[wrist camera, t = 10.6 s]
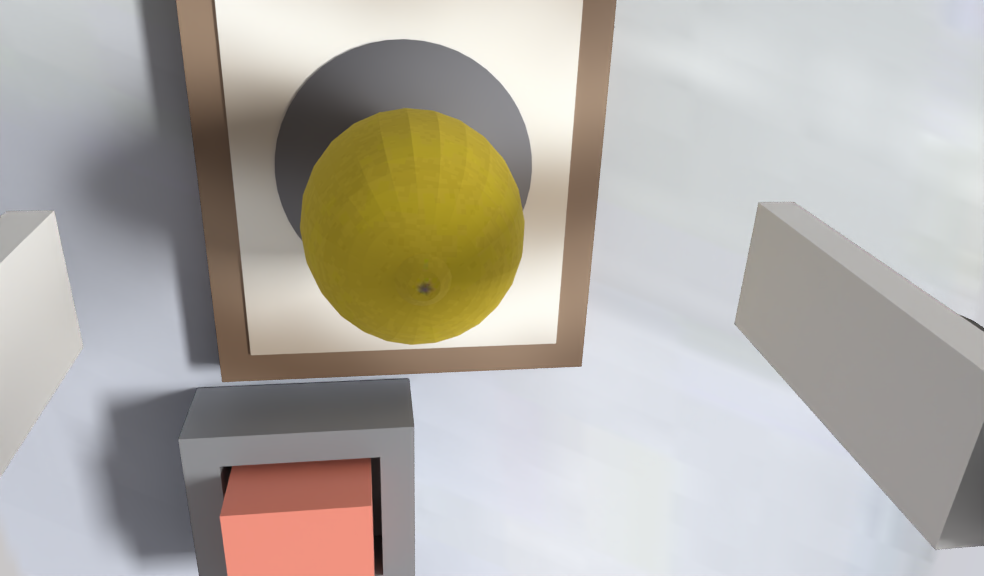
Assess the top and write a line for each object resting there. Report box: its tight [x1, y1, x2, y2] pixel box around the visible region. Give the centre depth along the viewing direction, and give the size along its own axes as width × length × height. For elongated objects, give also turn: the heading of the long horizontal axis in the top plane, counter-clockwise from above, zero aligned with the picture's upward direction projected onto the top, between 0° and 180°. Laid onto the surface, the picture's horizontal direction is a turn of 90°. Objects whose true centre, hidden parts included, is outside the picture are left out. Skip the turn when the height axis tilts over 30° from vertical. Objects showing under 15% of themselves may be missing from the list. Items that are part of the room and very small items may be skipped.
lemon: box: [300, 108, 525, 345], centre depth 20 cm, size 6×6×8 cm
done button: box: [220, 458, 375, 576], centre depth 25 cm, size 4×4×2 cm
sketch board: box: [176, 0, 616, 382], centre depth 24 cm, size 14×12×1 cm
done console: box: [178, 379, 415, 576], centre depth 27 cm, size 7×7×3 cm
